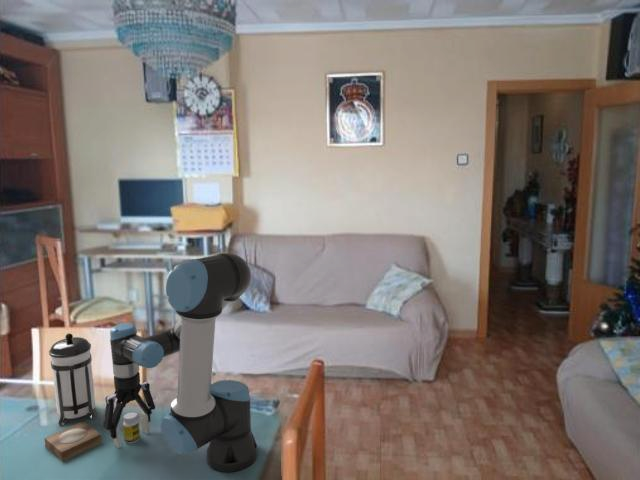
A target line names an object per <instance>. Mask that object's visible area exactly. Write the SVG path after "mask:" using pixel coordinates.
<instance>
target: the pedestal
mask: <svg viewBox="0 0 640 480" xmlns="http://www.w3.org/2000/svg"><path fill="white" fill-rule="evenodd" d="M43 439H44V445H45V448H46V449H47V450H49V451H50V453H52V454H53V455H54V456H56V457H57V458H58V460H60V461H62V462H65V461H66V460H70V459H72V458H73V457H75V456H77V455H80V454H81V453H84V452H86V451H89V450H90V449H92V448H94V447H97V446H99V445H100V444H102V442H103V441H102V434H101V433H100V432H98V431H97V430H95V429H94V428H93V427H91V426H90V425H88V424H87V423H86V422H84V421H81V422H78V423H76V424H74V425H71V426H69V427H67V428H65V429H62V430H60V431H57V432H55V433H53V434H51V435H48V436H46V437H44V438H43Z"/></svg>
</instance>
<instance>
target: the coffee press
mask: <svg viewBox="0 0 640 480" xmlns="http://www.w3.org/2000/svg"><path fill="white" fill-rule="evenodd" d="M73 336H74V335H73V334H72V333H69V332H68V333H67V334H66V335H65V337H64V338H63V339H59V340H58V341H56V342H54V343H53V344H52V345H51V347H50V349H49V350H48V354H49V357H50V368H51V370H52V371H51V372H52V379H53V386H54V395H55V396H54V397H55V404H56V406H55V407H56V412H57V415H58V416H59V417H60V418H59V421H58V423H57V424H58V425H59V426H65V424H66V421H68V420H70V419H71V420H72V419H78V418H81V417H83V416H84V417H85V416H87V417H88V418H89V417H90V416H91V415H92V419H94V418H95V417H96V416H95V415H96V413H95V411H94V409H95V407H96V397H95V387H94V386H95V385H94V379H93V377H94V376H93V375H94V374H93V366H92V360H93V359H92V353H91V348H92V344H91V343H90V342H89V340H87V339H86V338H84V337H81V336H80V337H79V336H75V337H73ZM94 416H95V417H94ZM93 417H94V418H93Z"/></svg>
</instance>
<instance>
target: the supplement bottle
mask: <svg viewBox="0 0 640 480" xmlns="http://www.w3.org/2000/svg"><path fill="white" fill-rule="evenodd" d="M122 428H123V440H124V443H126V444H135V443H137V442H139V441H140V439H141V435H140V434H141V433H140V421H139V418H138V413H137V412H128V413H126V414H124V415H123V423H122Z"/></svg>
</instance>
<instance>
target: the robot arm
mask: <svg viewBox="0 0 640 480" xmlns="http://www.w3.org/2000/svg"><path fill="white" fill-rule="evenodd" d="M251 279H252V273H251V268H250V266H249V264H248V263H247V262H246V260H245V259H244V258H243V257H241V256H239V255H238V254H235V253H232V252H231V253H230V252H224V253H219V254H215V255H210V256H205V257H201V258H196V259H195V258H193V259H189V260H185V261H184V262H181V263H178V264H176V265H175V266H174V267H172V268H171V269H170V271H169V273H168V275H167V278H166V282H165V293H166V296H167V297H168V299H167V301H168V303H169V304H170V306H171V308H172V309H174V311H175V313H176V314H177V316H179V317H180V318H179V319H178V321H177V322H176V323H175V324H174V326H173V327H171V328H169V329H166V330H164V331H161V332H158V333H155V334H152V335H150V336H149V335H148V336H146V337H142V336H140V335H138V331H137V327H136V326H135V324H132V323H120V324H117V325H115V326H113V327H111V328H110V332H109V335H110V339H109V342H110V349H111V350H110V351H111V361H112V372H113V375H114V376H113V384H114V390H115V391H114V393H113V395H111V396H109V395H107V396H105V404H106V405H105V410H104V418H103V428H104V429H105V430H107V431H109V433H110V437H111V438H112V439H113V446H114V447H116V448H117V449H120V448H122V446H121V435H120V434H121V432H120V427H118V426H119V421H120V419H121V417H122V413H123V411H124V408H126V405H127V404H128V403H130V402H133V401H135V402H136V403H137V405H138V406H139V407H140V409H141V410H142V411H143V412H140V416H141V417H140V418H141V427H142V429H141V430H142V432H143V433H145V434H147V435H148V434H150V427H149V425H150V424H149V423H150V422H151V415H152V413H153V410H154V411H155V409H156V405H155V402H154V399H153V396H152V393H151V391H150V390H151V389H150V388H151V387H150V385H151V384H150V383H149V382H147V381H145V380H144V381H142V383H141V376H140V375H141V374H140V367H142V368H143V367H144V368H147V369H153V368H155V367H157V366H158V365H159V364H160V363H162V361H163V359H164V358H166V357H168V356H171V355H173V354H175V353H178V352H179V357H178V372H177V373H178V376H177V394H176V395H175V396H174V397H173V398H172V400H171V402H170V403H171V404H170V412H169V414H165V415H164V416H163V417H162V418H161V420H160V430H161V433H162V436H163V438H164V441H165V443H166V444H167V446H169V448H170V449H171V451H173V452H174V453H175V454H177V455H178V456H179V455H180V456H188V455H189V454H190V453H193V452H196V451H198V450H199V449H201V448H202V447H204V446H205V445H207V444H208V447H207V449H206V463H207V465H208V466H209V467H210V468H211V469H213V470H215V471H218V472H224V473H231V472H232V473H234V472H237V471H238V472H239V471H241V470H244V469H247V468H249V467H250V466H251V465H253V464H254V463H255V461H256V460H257V458H258V455H259V452H258V451H259V450H258V444H257V442H256V439H255V437H254V434H253V432H252V431H253V430H252V428H251V427H252V421H251V396H250V388H249V386H248V385H247V384H246V383H244V382H242V381H239V380H234V379H233V380H232V379H224V380H218V381H215V382H213V383H212V376H213V362H214V359H213V358H214V347H215V332H216V319H217V318H218V317H219V316H221V314H222V313H223V310H224V309H225V308H226V307H227V306H228V305H229V304H230V303H232V302H236V301H238V299H239V298H241V296H243V294H244V293H245V292H246V291H247V289H248V288H249V286H250V284H251V281H252V280H251ZM141 390H142V393H143V396H144V399H145V401H144V400H143V399H142V397H141V395H140V391H141ZM145 402H146V403H145Z"/></svg>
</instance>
